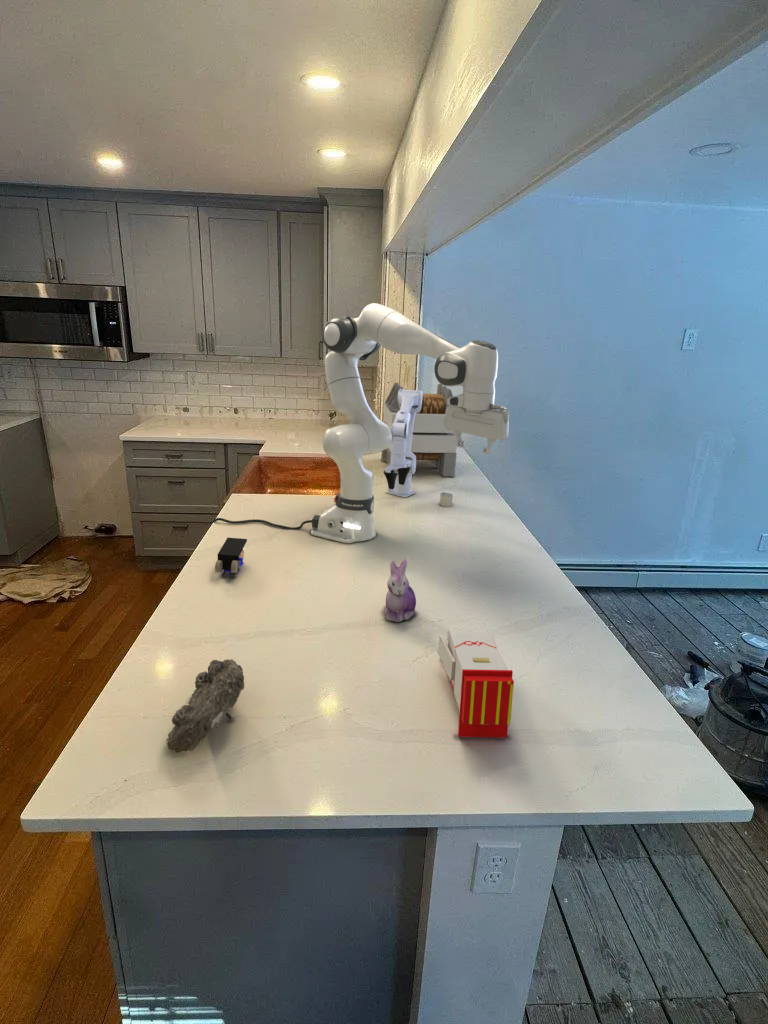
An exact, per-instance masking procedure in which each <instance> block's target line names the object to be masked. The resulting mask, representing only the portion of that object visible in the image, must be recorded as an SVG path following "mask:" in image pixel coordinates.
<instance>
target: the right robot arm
mask: <svg viewBox="0 0 768 1024" xmlns="http://www.w3.org/2000/svg"><path fill="white" fill-rule="evenodd" d="M423 394H424V392H423V391H422V390H420V389H419V390H416V389H404V388H403V389H400V390H399V391H398V405H399V411H398V412H397V414H396V417H395V421H394V423H392V424H391V428H390V430H391V433H392V441H391V462H390V464H389V465H388V466H387V465H386V466H385V470H383V475H384V477H385V479H386V482H387V491H386V493H387V494H389V495H393V496H398V497H401V498H407V497H409V496H413V495H414V494H415V491H412V479H413V477H412V476H413V475H414V474H415V473H416V469H417V460H416V456H415V455H414V454H413V453H412V452H411V444H412V436H413V427H414V419H415V416H416V413H418V412H420V410H421V406H422V397H423ZM405 458H406V459H405Z"/></svg>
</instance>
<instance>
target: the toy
mask: <svg viewBox="0 0 768 1024" xmlns="http://www.w3.org/2000/svg"><path fill="white" fill-rule="evenodd" d="M446 640H447V643H446V641H445V639H444V636H443V635H442V634H439V637H438V646H437V656H438V657H439V659H440V661H441V663H442V666H443V668H444V670H445V672H446V674H447V677H448V679H449V681H450V684H451V687H452V690H453V693H454V697H455V701H456V705H457V708H458V711H459V714H458V715H459V716H458V730H457V731H458V732H457V737H458V738H508V731H509V726H510V725H511V717H512V707H513V697H514V696H513V695H514V684H515V680H514V679H513V673H514V671H513V670H512V669H508V667H507V665H506V662H505V661H504V659H503V658H502V655H501V653H500V651H499V649H498V647H497V643H496V639H495V637H494V635H493V634H491V632H490V631H489V629H467V628H466V629H465V628H463V629H461V628H460V629H459V628H448V630H447V639H446Z"/></svg>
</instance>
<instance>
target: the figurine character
mask: <svg viewBox="0 0 768 1024" xmlns="http://www.w3.org/2000/svg"><path fill="white" fill-rule="evenodd" d="M247 542H248V538H240V537H226V539H225V541H224V543H223V544H222V546H221V547H220V549H219V551H218V552H217V560H216V562H215V564H214V572H215V573H221V577H222V578H224V577H225V576H226V574H227V573H230V574H231V573H232V574H231V578H234V577H235V575H236V573H237V572H239V571H240V567H242V566H243V565H244V564H245V562H244V558H245V551H244V547H245V546H246V544H247Z"/></svg>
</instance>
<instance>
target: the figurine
mask: <svg viewBox="0 0 768 1024" xmlns="http://www.w3.org/2000/svg"><path fill="white" fill-rule="evenodd" d="M407 567H408V559H406V558H404V559H403V560H402V561H401V563H400V565H399V566H398V565H397V563H396V562H395V561H394V560H393V559H391V560H390V561H389V570H390V576H389V578H388V579H387V589H388V591H387V592H386V594H385V595H386V596H385V607H384V615H385V616H386V620H387V621H391V622H395V623H400V622H402V621H406V620H409V619H410V618H411V617H413V616H414V615H415V610H416V606H417V597H416V593H415V591H414V590H413V587H411V586H410V582H409V579H408V577H407V574H406V571H407Z"/></svg>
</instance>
